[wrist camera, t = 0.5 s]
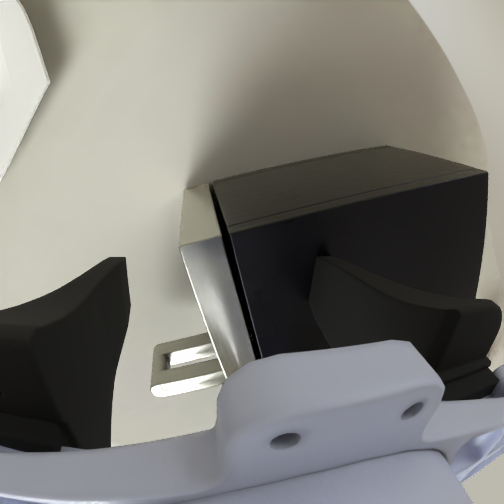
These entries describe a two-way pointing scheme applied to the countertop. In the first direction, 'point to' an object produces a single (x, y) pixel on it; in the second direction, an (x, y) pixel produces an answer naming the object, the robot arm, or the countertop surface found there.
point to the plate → (18, 78)
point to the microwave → (349, 232)
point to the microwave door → (204, 307)
